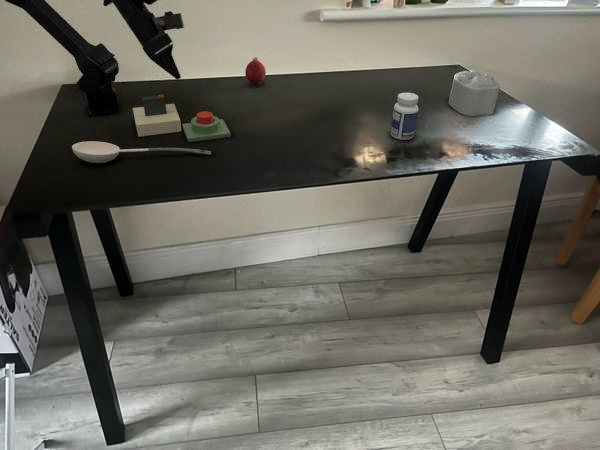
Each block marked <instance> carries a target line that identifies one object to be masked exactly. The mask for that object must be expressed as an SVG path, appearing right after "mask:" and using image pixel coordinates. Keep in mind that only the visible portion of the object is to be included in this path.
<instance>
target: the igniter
mask: <svg viewBox="0 0 600 450" xmlns="http://www.w3.org/2000/svg"><path fill="white" fill-rule="evenodd" d="M181 128H182V130H183V133H184V135H185V137H186V140H187V142H188V143H191V142H192V143H193V142H200V141H207V140H216V139H224V138H230V137H232V134H231V131H230V130H229V127H228V126H227V124H226V122H225V120H224V119H223V118H221V119H220V118H219V116H216V115H214V114H213V123H210V124H205V125H204V124H199V123H198V121H197V115H196V116H194V117H193V118H192V119H191V120H190V122H187V123H181Z"/></svg>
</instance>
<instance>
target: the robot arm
mask: <svg viewBox="0 0 600 450" xmlns="http://www.w3.org/2000/svg"><path fill="white" fill-rule="evenodd" d="M4 1H5V2H6V3H8V4H11V5H13V6H15V7H18V8H20V9H22V10H23V11H25V12H26V14H28V16H30V17H31V18H32V19H33V20H34V21H35V22H36V23H37V24H38V25H39V26H40V27H41V28H42V29H44V30H45V31H46V32H47V33H48V34H49V35H50V36H51V37H52V38H53V39H54V40H55V41H56V42H57V43H58V44H59V45H60V46H62V48H64V49H65V50H66V51H67V52H68V54H70V55H71V56H72V58H73V59H74V61H75V64H76V66H77V69H78V70H79V72H80V73H81V74H82V75H81V76H80V78H79V79H78V80H77V82H76V86H77V87H78V90H79V92H84V93H85V97H86V99H87V104H88V108H89V115H90V116H99V115H109V114H117V113H118V108H119V102H118V97H117V92H116V88H113V85H112V83H114V82H116V76H118V74H119V71H120V65H119V61H118V60H117V58H115V56H116V55H115V53H112V52H111V51H110V50H109V49H108V48H107V47H106V46H105V44H103V43H101V42H100V43H98V44H97V45H95V44H92V43H90V42H89V41H87V39H85V38H84V37H83V35H82V34H80V33H79V32H78V31H77V30H76V29H75V28H74V27H73V26H72V25H71V24H70V23H69V22H68V21H67V20H66V19H65V18H64V17H63V16H62V15H61V14H60V13H58V12H57V11H56V10H55V9H54V8H53V7H52V5H51V4H49V2H47V1H46V0H4ZM158 1H159V0H103V2H102V4H103V7H108V6H110V5H112V4H113V5H114V7H115V8H116V10H117V11H118V13H119V14H120V16H121V17H122V20H124V22H125V23H126V25H127V26H128V29H130V31H132V33H133V35H134V36H135V38H136V39H137V41H138V43H139V44H140V45H141V47H142V50H143V52H144V53H145V55H146V56H147V58H149V59H150V60H151V61H152V62H153V63H154V64H156V65H157V66H158V67H160V68H161V69H162V70H163V71H165V72H166V73H167V74H169V75H170V76H172V77H173V78H174V79H176V80H180V79H181V78H182V75H181V74H180V71H179V68H178V67H177V64H176V62H175V59H174V57H173V49H174V43H173V42H174V41H173V39H172V38H171V37H170V35H169V34H168V33H166V31H170V30H180V29H185V24H184V19H183V17H182V12H179V13H174V12H173V11H172V10H169V11H165V12H164V14H163V15H161V16H155V14H154V13H153V12H151V11H150V10H149V8H148V6H151V5H154V4H155V3H156V2H158ZM147 5H148V6H147Z"/></svg>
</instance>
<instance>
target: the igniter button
mask: <svg viewBox="0 0 600 450" xmlns="http://www.w3.org/2000/svg"><path fill="white" fill-rule="evenodd" d="M213 115H214V114H213V112H211V111H208V110H207V111H205V110H203V111H200V112H197V114H196V116H197V121H198V123H199V124H204V125H205V124H210V123H213Z"/></svg>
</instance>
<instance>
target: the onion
mask: <svg viewBox="0 0 600 450" xmlns="http://www.w3.org/2000/svg"><path fill="white" fill-rule="evenodd" d="M244 71H245V72H244V74H245V78H246V79H247V81H248V82H249V83H251V84H252V85H253V86H258V85H259V84H261V83H262V82H263V81H264V80H265V78H266V72H267V71H266V68H265V65H264V64H263V63H262V62H261V61H259V60H258V57H257V56H254V57H253V59H252V60H251V61H250V62H249V63H247V64H246V67H245V70H244Z"/></svg>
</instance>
